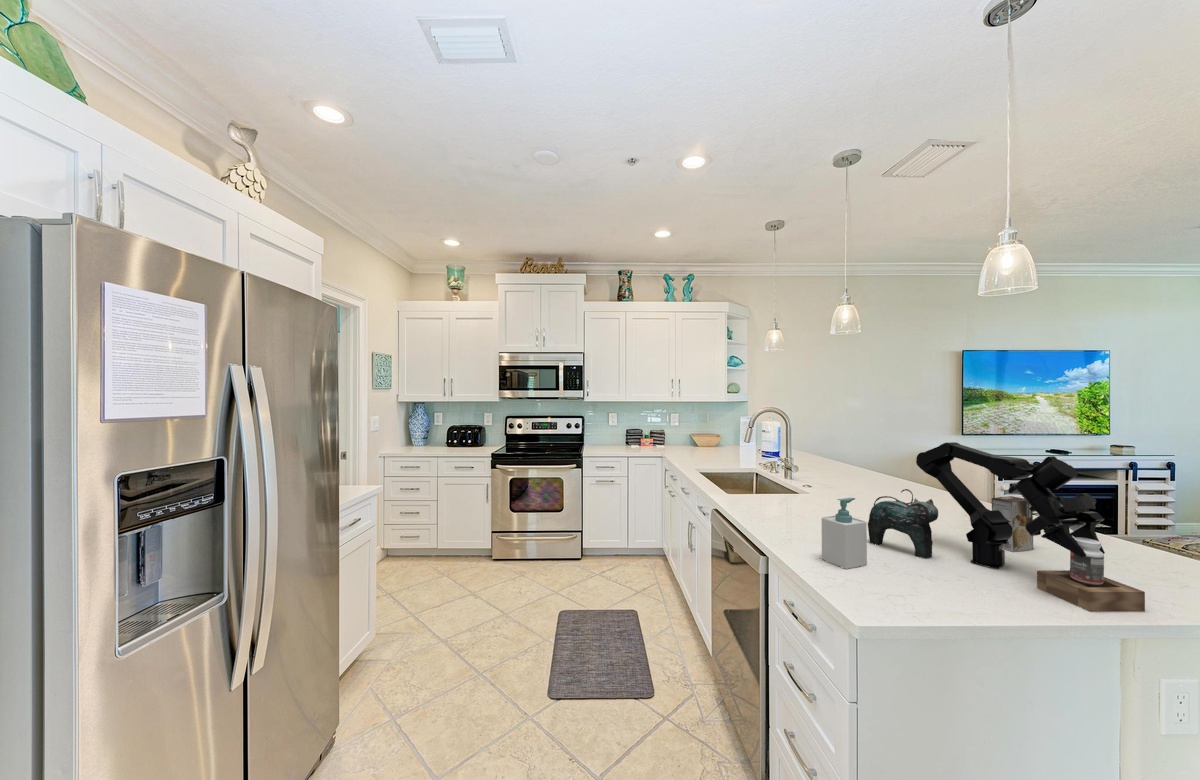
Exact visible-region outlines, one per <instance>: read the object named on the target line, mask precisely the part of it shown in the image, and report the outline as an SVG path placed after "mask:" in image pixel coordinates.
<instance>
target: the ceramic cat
mask: <svg viewBox="0 0 1200 780" xmlns="http://www.w3.org/2000/svg"><path fill="white" fill-rule="evenodd" d="M905 491H907V492H909V493H910V494H911V501H910V502H905V501H902V500H899V499H898V498H896V497H894V496H887V495H885V496H879V497H878V498H876V499H875V501H874V503H873V506H872V507H871V509H870V512H869V515H868V516H869V517H868V522H867V530H868V538H869V543H870V544H872V543H873V544H872V545H875V544H876V546H882V545H883V542H884V537H885V533H886V531H887V530H894V531H897V532H899V533H903V534H906V535H907V536H908V537H909V538H910V540H911V541H912V544H913V546H914V557H919V558H923V559H925V560H927V559H931V558H933V543H934V541H933V539H932V538H933V536H932V535H933V534H932V532H933V531H932V528H931V525H930V523H934V522H935V521H937V520H938V518H939V509H938V507H937V506H935V505H934V501H933V499H932V498H930V499H928V500H926V501H919V500H918V499H917V498H916V497H915V498H914V494H913V492H912V491H911V490H910V489H908V488H905V489H902V490H901V492H900V493H902V492H905ZM886 498H890V499H893V500H883V501H879V500H880V499H886ZM878 501H879V502H878Z"/></svg>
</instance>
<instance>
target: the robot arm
mask: <svg viewBox="0 0 1200 780" xmlns="http://www.w3.org/2000/svg"><path fill="white" fill-rule="evenodd" d="M954 459H959V460H961V461H965V462H968V463H971V464H973V465H976V466H979V467H983V468H985V469H987V470H988V471H989V472H990V473H991V474H992V475H995V476H996V477H998V478H1000V479H1002V480H1007V481H1009V480H1010V481H1011V480H1018V482H1010V483H1009V488H1008V494H1020V496H1022V498H1024V499H1025V500H1026V501H1027V502H1028V503H1029V504H1030V505H1031V506H1032V507H1030V508H1029V509H1030V511H1031V512H1033V513H1035V512H1036V513H1037V514H1038V516H1037V517H1035V518H1033V520H1032V521H1030V522H1029V523H1027V524H1026V530H1027V531H1028V533H1029V534H1030V535H1031V536H1033V537H1035V536H1040V537H1041V538H1042V539H1047V540H1049V541H1050V542H1052V543H1055V544H1057V545H1059V546H1060V547H1062V548H1064V549H1066V550H1068V551H1069V552H1070V551H1071V552H1073V553H1075V554H1077V555H1079V556H1080V557H1084V556H1086V553H1085V552H1084V551H1083V549H1082V548H1081V547H1080V545H1079V544H1078V543H1077V542H1076V540H1075V539H1074V538H1075V537H1081V538H1088V539H1093V540H1096V541H1099V542H1100V540H1099V538H1098V536H1097V532H1096V528H1097V527H1096V526H1098V524H1099V523H1101V522H1103V521H1105V518H1104V517H1103V516H1102V515H1101V514H1100V513H1099V512H1096V511H1091V510H1096V509H1097V508H1096V504H1097V499H1096V498H1094V497H1093V495H1090V494H1089V493H1086V492H1084V493H1078V494H1076V495H1075V496H1074V497H1068V498H1064V497H1063V496H1060V495H1058V496H1057V495H1055V494H1054V493H1053V492H1052V491H1051V489H1052V490H1058V489H1060V488H1062V487H1063V486H1064V485H1066V484H1067V483H1069V482H1070V481H1072V480H1073V479H1076V477H1078V472H1077V470H1076V469H1075V468H1074V467H1073V466H1072V465H1070V464H1068V463H1067V462H1065V461H1063V460H1061V459H1058V458H1057V457H1056V456H1053V455H1052V456H1051V455H1050V456H1047V457H1045V458H1044V459H1043V461H1042V462H1040V463H1039V464H1032V463H1030V461H1028V460H1027V459H1024V458H1021V457H1014V456H1004V455H995V454H993V453H992V454H991V453H990V452H986V451H983V450H979V449H976V448H973V447H969V446H966V445H963V444H960V443H959V442H955V441H954V442H944V443H941V444H940V445H938V446H936V447H934V448H931V449H928V450H926V451H922V452H919V453H918V454H917V456H916V459H915V460H916V461H915V463H916V466H917V467H919V469H920V470H921V471H923V472H924V473H925V474H926V475H929V477H932V478H934V479H936V480H937V481H938V483H940V484H941V485H942V487H943V488H944V489H945V490H946V491H947V492H948V493H949V494H950V496H951V497H952V498H953V500H955V501H956V502H957V504H958V505H959V506H960V507H961V508H962V509H963V510H964V512H965V513H966V514H967V515H968V516H969V521H970V526H971V527H972V529H971V530H970V531H969V532H968V531H967V533H966V534H965V536H966V539H967V542H969V543H971V547H972V551H971V552H972V559H971V560H970V561H969V562H970V563H972V564H976V565H980V566H984V567H989V568H990V569H991V568H993V569H997V570H999V569H1000V568H1001V567H1003V566H1004V565H1005V564H1006V553H1005V552H1006V550H1004V549H1002V544H1007V542H1008V539H1009V538H1010V537H1011V536H1012V530H1013V528H1012V526H1011V525H1010V524H1009V523H1008V522H1010V521H1009V520H1007V519H1006V518H1005V517H1004V516H1003V514H1002V513H1001V512H1000V511H999V510H993V511H992V510H990V509H989V508H987V507H986V506H984V504H983V503H982V502H981V501H980V500H979V499H978V498H977V497H976V496H975V494H973V492H972V491H971V490H970V489H969V488H968V487H967V486H966V485H965V483H963V481H961V479H960V478H959V477H958V476H957V475H956V474H955V472H953V470H952V464H951V462H952V461H954ZM1086 510H1090V511H1086ZM1081 511H1082V512H1081ZM1070 530H1071V531H1072V532H1071V531H1070ZM1041 531H1043V532H1044V534H1042V532H1041ZM1099 550H1100V551H1101V552H1102V553H1103V554H1105V551H1104V548H1103V547H1102V545H1101V548H1100V549H1099Z"/></svg>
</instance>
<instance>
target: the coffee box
mask: <svg viewBox="0 0 1200 780" xmlns="http://www.w3.org/2000/svg"><path fill="white" fill-rule="evenodd" d="M1030 507H1032V506H1031V505H1030V504H1029V503H1028V502H1027V501H1026V500H1025V499H1024V497H1017V496H1013V495H1009V496H1000V497H991V511H993V510H999V511H1000V512H1001V513H1002V514H1003V516H1004V517H1005V518H1006V519H1007V520H1009V521H1010V522H1008V523H1009V524H1010V525H1011V526H1012V528H1013V530H1012V536H1011V537H1010V538H1009V539H1008V542H1007V544H1002V550H1004V551H1007V550H1008V552H1011V553H1015V552H1016V553H1017V552H1025V551H1030V550H1031V551H1032V550H1034V536H1031V535H1030V534H1029V533H1028V531H1027V530H1026V524H1027V523H1029V522H1030V521H1032V520H1033V519H1034V514H1033V513H1034V512H1031V511H1030V509H1029V508H1030Z"/></svg>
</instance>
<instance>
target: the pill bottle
mask: <svg viewBox="0 0 1200 780" xmlns="http://www.w3.org/2000/svg"><path fill="white" fill-rule="evenodd" d="M1073 538H1074V539H1075V540H1076V542H1077V543H1078V544H1079V545H1080V547H1081V548H1082V549H1083V551H1084V552H1085V553H1086V556H1084V557H1080V556H1079V555H1077V554H1075V553H1073V552H1071V551H1069V555H1070V558H1069V559H1070V560H1069V562H1070V563H1069V570H1070V576H1071V577H1072V578H1073V579H1075V580H1077V581H1080V582H1083V583H1088V584H1094V585H1100V584H1103V583H1104V577H1105V555H1104V554H1103V553H1102V552H1101V551H1100V550H1099V549H1100V548H1101V546H1102V541H1100V540H1099V541H1096V540H1093V539H1088V538H1081V537H1073Z"/></svg>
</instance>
